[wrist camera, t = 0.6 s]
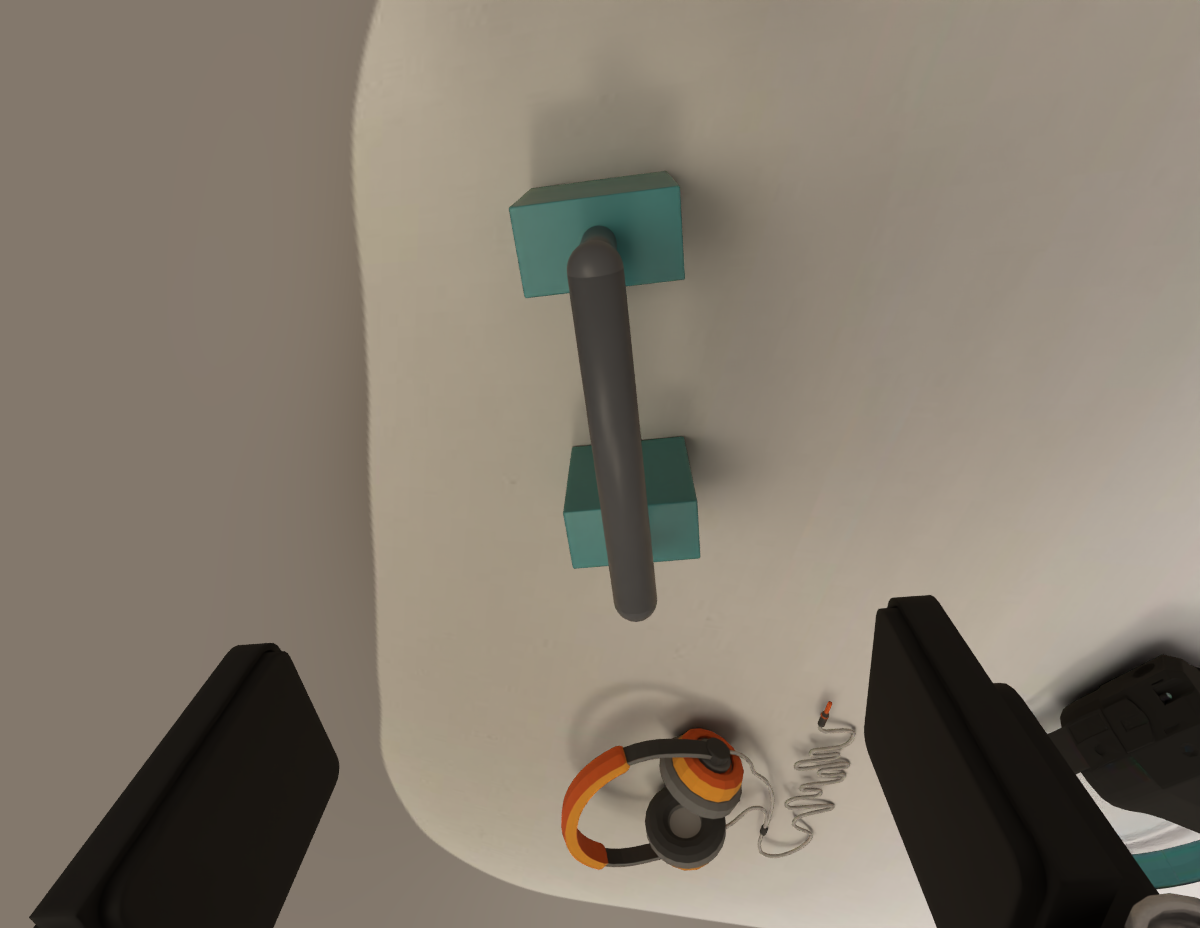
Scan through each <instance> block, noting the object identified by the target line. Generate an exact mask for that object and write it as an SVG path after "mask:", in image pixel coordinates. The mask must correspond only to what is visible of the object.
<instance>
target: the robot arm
mask: <svg viewBox="0 0 1200 928" xmlns="http://www.w3.org/2000/svg"><path fill="white" fill-rule="evenodd" d="M864 736H865V743H866V747H867V751H868V754H869V756H870V759H871V762H872V764H873V767H874V769H875V772H876V774H877V777H878V779H879V782H880V784H881V787H882V789H883V792H884V795H885V797H886V800H887V802H888V805H889V807H890V810H891V812H892V815H893V817H894V820H895V822H896V825H897V828H898V830H899V833H900V835H901V838H902V840H903V843H904V845H905V848H906V850H907V853H908V855H909V858H910V861H911V863H912V866H913V868H914V871H915V873H916V876H917V878H918V881H919V883H920V886H921V888H922V891H923V894H924V896H925V899H926V901H927V904H928V906H929V909H930V911H931V914H932V916H933V919H934V921H935V924H936V927H937V928H1200V899H1198V898H1195V897H1189V896H1183V895H1177V894H1172V893H1167V894H1159V893H1158V891H1157V890H1156V889H1155V887H1154V886H1153V884H1152V883H1151V881H1150V880H1149V879H1148V877H1147V876H1146V874H1145V873H1144V871H1143V870H1142V869H1141V867H1140V866H1139V864H1138V863H1137V861H1136V860H1135V859H1134V857H1133V856H1132V854H1131V853H1130V851H1129V850H1128V849H1127V847H1126V846H1125V844H1124V843H1123V842H1122V840H1121V839H1120V837H1119V836H1118V834H1117V833H1116V832H1115V830H1114V829H1113V827H1112V826H1111V824H1110V823H1109V822H1108V820H1107V819H1106V817H1105V816H1104V814H1103V813H1102V812H1101V810H1100V809H1099V807H1098V806H1097V804H1096V803H1095V802H1094V800H1093V799H1092V797H1091V796H1090V794H1089V793H1088V792H1087V790H1086V789H1085V787H1084V786H1083V784H1082V783H1081V782H1080V780H1079V779H1078V777H1077V776H1076V774H1075V773H1074V772H1073V770H1072V769H1071V767H1070V766H1069V765H1068V763H1067V762H1066V760H1065V759H1064V757H1063V756H1062V755H1061V753H1060V752H1059V750H1058V749H1057V747H1056V746H1055V745H1054V743H1053V742H1052V740H1051V739H1050V737H1049V736H1048V735H1047V733H1046V732H1045V730H1044V729H1043V727H1042V726H1041V725H1040V723H1039V722H1038V720H1037V719H1036V717H1035V716H1034V715H1033V713H1032V712H1031V710H1030V709H1029V707H1028V706H1027V705H1026V703H1025V702H1024V700H1023V699H1022V698H1021V697H1020V695H1019V694H1018V693H1017V692H1016V691H1015V690H1014V689H1013V688H1012V687H1010V686H1009V685H1007V684H1005V683H992V681H991V680H990V678H989V677H988V675H987V674H986V672H985V671H984V669H983V668H982V666H981V665H980V663H979V662H978V660H977V659H976V657H975V656H974V654H973V653H972V651H971V650H970V648H969V647H968V645H967V644H966V642H965V641H964V639H963V638H962V636H961V635H960V633H959V632H958V630H957V629H956V627H955V626H954V624H953V623H952V621H951V620H950V618H949V617H948V615H947V614H946V612H945V611H944V609H943V608H942V606H941V605H940V603H939V602H938V601H937V599H936V598H935V597H933V596H931V595H925V596H911V597H897V598H891V599H890V601H889V603H888V607H887V608H882V609H878V611H877V614H876V622H875V632H874V641H873V650H872V660H871V669H870V678H869V688H868V697H867V706H866V716H865V725H864ZM338 775H339V761H338V758H337V755H336V753H335V751H334V749H333V747H332V744H331V742H330V740H329V738H328V736H327V734H326V732H325V730H324V728H323V725H322V723H321V721H320V719H319V717H318V715H317V713H316V711H315V709H314V706H313V704H312V702H311V700H310V698H309V696H308V694H307V692H306V689H305V687H304V685H303V683H302V681H301V679H300V677H299V675H298V672H297V670H296V668H295V666H294V664H293V662H292V660H291V658H290V656H289V655H288V653H286V652H285V651H281V650H280V648H279V647H278V646H277V645H276V644H274V643H264V644H249V645H238V646H235V647H233V648H232V649H231V650H230V651H229V652H228V653H227V654H226V656H225V657H224V658H223V660H222V661H221V662H220V664H219V665H218V666H217V668H216V669H215V670H214V672H213V673H212V674H211V676H210V677H209V678H208V680H207V681H206V682H205V684H204V685H203V686H202V688H201V689H200V690H199V692H198V693H197V694H196V696H195V697H194V698H193V700H192V701H191V702H190V704H189V705H188V706H187V708H186V709H185V710H184V712H183V713H182V714H181V716H180V717H179V718H178V720H177V721H176V722H175V724H174V725H173V726H172V728H171V729H170V730H169V732H168V733H167V734H166V736H165V737H164V738H163V740H162V741H161V742H160V744H159V745H158V746H157V748H156V749H155V750H154V752H153V753H152V754H151V756H150V757H149V759H148V760H147V761H146V762H145V764H144V765H143V766H142V768H141V769H140V770H139V772H138V773H137V774H136V776H135V777H134V778H133V780H132V781H131V782H130V784H129V785H128V786H127V788H126V789H125V790H124V792H123V793H122V794H121V796H120V797H119V798H118V800H117V801H116V802H115V804H114V805H113V806H112V808H111V809H110V810H109V812H108V813H107V814H106V816H105V817H104V818H103V820H102V821H101V822H100V824H99V825H98V826H97V828H96V829H95V831H94V832H93V833H92V834H91V836H90V837H89V838H88V840H87V841H86V842H85V844H84V845H83V846H82V848H81V849H80V850H79V852H78V853H77V854H76V856H75V857H74V858H73V860H72V861H71V862H70V864H69V865H68V866H67V868H66V869H65V870H64V872H63V873H62V874H61V876H60V877H59V878H58V880H57V881H56V882H55V884H54V885H53V886H52V888H51V889H50V890H49V892H48V893H47V894H46V896H45V897H44V898H43V900H42V901H41V902H40V904H39V905H38V906H37V908H36V909H35V910H34V912H33V913H32V914H31V916H30V917H29V918H30V919H31V920H32V921H33V922H34V923H35V924H36V925H35V926H34V928H273V927H274V925H275V923H276V920H277V918H278V916H279V913H280V911H281V909H282V906H283V904H284V902H285V900H286V897H287V895H288V893H289V890H290V888H291V886H292V883H293V881H294V879H295V877H296V874H297V872H298V870H299V867H300V865H301V863H302V861H303V858H304V856H305V854H306V851H307V849H308V847H309V845H310V842H311V840H312V838H313V835H314V833H315V831H316V828H317V826H318V824H319V822H320V819H321V817H322V815H323V812H324V810H325V808H326V805H327V803H328V801H329V799H330V796H331V794H332V792H333V789H334V787H335V785H336V782H337V779H338Z"/></svg>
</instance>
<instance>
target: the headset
mask: <svg viewBox="0 0 1200 928" xmlns="http://www.w3.org/2000/svg"><path fill="white" fill-rule="evenodd" d="M509 212H510V218H511V223H512V229H513V235H514V240H515V246H516V251H517V257H518V263H519V268H520V274H521V279H522V285H523V291H524V296H525V298H531V297H539V296H548V295H556V294H565V293H570V299H571V306H572V313H573V320H574V327H575V334H576V341H577V348H578V355H579V362H580V369H581V376H582V383H583V390H584V397H585V404H586V411H587V418H588V425H589V432H590V439H591V445H590V446H580V447H572V452H571V459H570V467H569V474H568V481H567V489H566V496H565V504H564V511H563V515H564V520H565V526H566V532H567V537H568V543H569V549H570V554H571V560H572V565H573V568H574V569H576V568H588V567H600V566H609V571H610V578H611V585H612V592H613V599H614V605H615V608H616V610H617V612H618V613H619V614H620V615H621V616H622V617H623V618H625V619H627V620H629V621H633V622H638V621H643V620H645V619H647V618H648V617H649V616H650V615H652V613H653V612H654V610H655V608H656V604H657V593H656V583H655V573H654V563H653V562H661V561H673V560H685V559H698V558H700V542H699V524H698V506H697V498H696V493H695V488H694V483H693V479H692V474H691V469H690V464H689V459H688V454H687V450H686V445H685V440H684V437H672V438H662V439H652V440H642V441H641V434H640V424H639V414H638V404H637V394H636V384H635V374H634V364H633V354H632V344H631V335H630V325H629V315H628V305H627V295H626V286H634V285H642V284H651V283H659V282H668V281H676V280H684V279H685V271H684V253H683V235H682V217H681V199H680V187H679V185H678V184H677V183H676V182H675V180H674V179H673V178H672V177H671V176H670V175H669V173H668V172H667V171H661V172H654V173H646V174H638V175H631V176H623V177H615V178H608V179H600V180H592V181H585V182H577V183H569V184H562V185H554V186H546V187H539V188H531V189H530V190H529V191H528V192H527V193H525V194H524V195H523V196H522V197H521V198H520V199H519V200H517V201H516V202H515V203H514V204H513V205H512V206H511V207H509Z"/></svg>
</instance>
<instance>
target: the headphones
mask: <svg viewBox="0 0 1200 928" xmlns="http://www.w3.org/2000/svg"><path fill="white" fill-rule="evenodd" d="M831 706H832V702H831V701H829V702H828V704H827V706H826V708H825V711H823V712H822V713H821V716H820V719H819V721H818V725H819V727H818V729H819V730H820V731H821V732H822V733H839V732H847V733H852V736H851V738H850V739H849V741H847V742H846V743H844V744H842V745H838V746H831V747H823V748H815V749H812V750H810V752H809V755H810V756H811V757H815V758H816V757H825V758H818V759H808V760H801V761H798V762H796V763H795V764H794V769H795V770H798V771H804V770H814V769H820V770H818V772H817V775H818V776H821V777H836V776H842V777H841V778H840V779H836V780H830V781H823V782H812V783H806V784H803V785H801V786H800V791H801V792H819V793H818V794H814V795H805V796H797V797H793V798H790V799H788V800H786V802H785V807H786V808H787V809H791V810H796V809H810V808H822V807H829V808H825V809H820V810H815V811H810V812H807V813H803V814H800V815H798V816H796V817H795V818H794V819H793V821H792V826H793V827H794V828H795V829H797V830H799V831H802V832H804V833H807V834H809V835H810V836H809V838H808V839H807V840H806V841H805V842H804V843H803V844H802V845H800V846H799V847H797V848H795V849H793V850H791V851H788V852H785V853H781V854H767V853H764V852H763V851H762V849H761V841H762V838H763V836H765V835H766V833H767V830H768V825H769V822H770V819H771V817H772V813H773V809H774V794H773V790H772V788H771V785H770V784H769V782H768V780H767V779H766V778H765V777H763V776H762V775H760V774H758V773H757V772H756V771H755V769H754V766H753V763H752V762H751V761H750V759H749V758H748V757H746V756H745V755H743V754H742V753H740V752H737V751H735V750H734V748H733V747H732V746H731V745H730V744H729V743H728V742H727V741H726V740H725V739H724V738H722V737H720V736H719V735H717V734H715V733H714V732H712V731H709V730H705V729H701V728H697V729H690V730H689V731H687V732H686V733H685V734H683V735H680V736H677V737H675V738H673V739H657V740H649V741H644V742H640V743H636V744H632V745H630V746H627V747H624V748H623V747H622V746H615V747H613V748H611V749H610V750H608V751H606V752H604V753H603V754H601V755H600V756H598V757H597V758H595V759H594V760H592V761H591V762H590V763H589V764H588V765H586V766H585V767H584V768H583V769H582V770H581V771H580V772H579V773H578V775H577V776H576V777H575V778H574V780H573V781H572V783H571V785H570V786H569V788H568V790H567V792H566V795H565V797H564V801H563V808H562V823H561V828H562V834H563V837H564V840H565V842H566V845H567V848H568V849H569V851H570V853H571V855H572V856H573V857H574V858H575V859H576V860H578V861H579V862H581V863H582V864H584V865H586V866H589V867H591V868H595V869H598V870H600V869H602V868H603V867H605V866H607V867H626V866H634V865H639V864H644V863H648V862H652V861H656V860H660V859H662V860H663V861H665V862H666V863H667V864H670V865H671V866H673V867H676V868H679V869H682V870H684V871H685V870H697V869H699V868H701V867H703V866H705V865H706V864H708V863H709V862H710V861H711V860H713V859H714V858H715V857H716V856H717V855H718V853H719V851H720V850H721V848H722V847H723V843H724V840H725V836H726V829H727V828H729V827H730V826H732V825H733V824H735V823H736V822H737V821H738V820H739V819H741V818H742V817H743V816H744V815H745V814H747V813H748V812H749V811H751V810H761V811H763V813H764V815H765V820H764V824H763V825H762V827H761V830H760V836H759V840H758V850H759V852H760V854H762V855H763V856H765V857H770V858H779V857H784V856H787V855H790V854H792V853H794V852H797V851H799V850H800V849H802V848H803V847H805V846H806V845H807V844H808V843H809V842H810V841H811V840H812V838H813V834H812V833H811V832H810V831H808V830H806V829H803V828H801V827H798V826H797V825H796V824H795V823H796V821H797V820H798V819H800V818H802V817H805V816H809V815H813V814H818V813H823V812H827V811H831V810H833V809H834V805H833V804H815V805H802V806H789V805H788V804H789V803H790V802H792V801H795V800H801V799H812V798H818V797H820V796H821V795H822V793H823V792H822V790H821V789H818V788H805V787H810V786H819V785H828V784H834V783H839V782H842V781H843V780H844V779H845V778H846V774H845V773H842V772H840V773H829V774H828V773H822V772H825V771H832V770H843V769H847V768H849V767H850V764H849V763H848V762H836V763H829V764H822V765H816V766H807V767H798V765H800V764H806V763H816V762H824V761H831V760H835V759H838V758H839V757H840V753H838V752H833V753H824V754H813V753H814V752H820V751H830V750H837V749H842V748H844V747H846V746H848V745H850V744H851V743H852V742H853V740H854V738H855V731H853V730H851V729H844V728H842V729H828V730H825V729H822V727H824V726H825V723H826V721H827V719H828V718H829V710H830V708H831ZM739 756H740V757H741V758H743V759H744V760H746V761H747V762H748V764H749V765H750V768H751V771H752V773H753V774H754V775H755V776H756V777H758V778H760V779H762V780H763V781H764V782H765V784H766V785H767V787H768V789H769V792H770V796H771V806H770V811H769V815H768V814H767V811H766V810H765V809H764V808H763V807H761V806H752V807H749V808H747V809H746V810H744V811H743V812H742V813H741V814H740V815H738V816H737V817H736V818H735V819H734V820H733V821H731V822H730V823H728V824H726V822H725V816H727V815H729V814H730V813H731V811H732V810H733V809H734V807H735V806H736V805H737V803H738V802H739V801H740V797H741V793H742V790H741V783H742V779H743V773H744V770H743V766H742V763H741V759H740V758H739ZM831 756H832V757H831ZM658 758H660V772H661V776H662V779H663V781H664V783H665V786H666V787H665V788H663V789H662V790H660V791H659V792H658V793H657V794H656V795H655V796H654V797H653V799H652V800H651V801H650V803H649V806H648V808H647V811H646V818H645V825H646V832H647V838H648V840H649V844H645V845H641V846H636V847H630V848H622V849H610V848H605V847H604V845H603V844H601V843H598V842H595V841H593V840H591V839H589V838H587V837H586V836H584V835H583V834H582V833H581V832H580V831H579V830H578V829H577V825H578V820H579V817H580V814H581V812H582V810H583V808H584V807H585V805H586V804H587V802H588V801H589V799H590V798H591V797H592V796H593V795H594V794H595V793H596V792H597V791H598V790H599V789H600V788H601V787H603V786H604V785H605V784H607V783H608V782H609V781H611V780H613V779H614V778H616V777H617V776H619V775H621V774H623V773H625V772H626V771H627V770H628V769H629V768H630V765H633V764H636V763H639V762H643V761H646V760H650V759H658ZM840 765H844V766H840ZM834 766H836V767H834ZM821 768H822V769H821Z"/></svg>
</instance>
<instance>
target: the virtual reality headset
mask: <svg viewBox="0 0 1200 928" xmlns="http://www.w3.org/2000/svg"><path fill="white" fill-rule="evenodd" d="M1060 719H1061V726H1062V728H1060V729H1058V730H1056V731H1054V732H1052V733H1049V734H1047V735H1048V736H1049V737H1050V739H1051V740H1052V742H1053V743H1054V745H1055V746H1056V747H1057V749H1058V750H1059V752H1060V753H1061V755H1062V756H1063V757H1064V759H1065V760H1066V762H1067V763H1068V765H1069V766H1070V767H1071V769H1072V770H1073V772H1074V773H1075V774H1078V773H1080V772H1081V773H1082V775H1083V776H1084V777H1085V779H1086V780H1087V781H1088V783H1089V784H1090V785H1091V786H1092V787H1093V789H1094V790H1095V791H1096V792H1097V793H1098V794H1099V795H1100V797H1101V798H1103V799H1104V800H1105V801H1107V802H1108V803H1110V804H1111V805H1113V806H1116V807H1118V808H1121V809H1125V810H1129V811H1134V812H1141V813H1146V814H1150V815H1153V816H1156V817H1160V818H1163V819H1165V820H1168V821H1170V822H1173V823H1175V824H1178V825H1180V826H1183V827H1185V828H1188V829H1190V830H1193V831H1195V832H1198V833H1200V668H1197V667H1194V666H1192V665H1190V664H1189V663H1187V662H1186V661H1184V660H1182V659H1180V658H1176V657H1172V656H1168V655H1164V654H1163V655H1161V656H1159V657H1157V658H1155V659H1153V660H1151V661H1149V662H1147V663H1145V664H1143V665H1141V666H1139V667H1137V668H1135V669H1133V670H1131V671H1129V672H1127V673H1125V674H1123V675H1121V676H1119V677H1117V678H1115V679H1113V680H1111V681H1109V682H1107V683H1105V684H1103V685H1101V686H1100V689H1098V690H1096V691H1094V692H1092V693H1090V694H1088V695H1086V696H1084V697H1082V698H1080V699H1078V700H1076V701H1074V702H1072V703H1071V704H1070V705H1068V706H1067V707H1066V708H1064V709H1063V711H1062V713H1061V716H1060ZM1132 856H1133V857H1134V859H1135V860H1136V861H1137V863H1138V864H1139V866H1140V867H1141V869H1142V870H1143V871H1144V873H1145V874H1146V876H1147V877H1148V879H1149V880H1150V881H1151V883H1152V884H1153V886H1154V887H1155V889H1163V888H1170V887H1176V886H1181V885H1187V884H1191V883H1195V882H1199V881H1200V840H1197V841H1194V842H1191V843H1187V844H1184V845H1180V846H1176V847H1172V848H1168V849H1164V850H1159V851H1154V852H1148V853H1141V854H1132Z"/></svg>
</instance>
